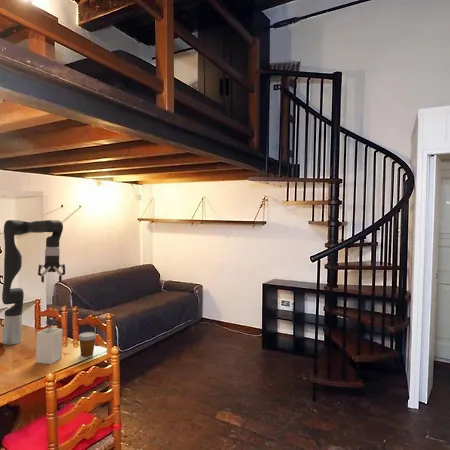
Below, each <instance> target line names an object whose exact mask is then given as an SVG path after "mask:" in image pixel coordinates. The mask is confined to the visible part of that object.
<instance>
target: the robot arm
mask: <svg viewBox="0 0 450 450" xmlns="http://www.w3.org/2000/svg"><path fill="white" fill-rule="evenodd" d="M63 229H64V224H63V222H62V220H60V219H59V220H57V219H55V220H54V219H53V220H52V219H46V220H35V221H33V220H32V222H31V221H26V220H25V221H24V220H20V219H19V220H18V219H8V220H5V222H4V225H3V237H4V238H3V239H4V240H3V241H4V259H3V285H2V292H1V296H2V297H1V300H2V304H3V305H5V306H6V305H11V307H9V308H7V309H5V311H4V319H3V321H4V323H3V325H4V326H3V327H2V336H1V337H2V339H1V344H3V345H6V346H7V345H8V346H10V345H11V346H12V345H18V344H20V343H22V325H23V307H24V297H25V296H24V295H25V294H24V289H23V288H21V287H16V288H15V287H14V288H11V287H12V284H13V282H14V279H15V278H16V276H17V275H18V274H19V272H20V271H21V269H22V262H23V261H22V260H23V257H22V254H21V252H20V250H19V248H18V247H17V245H16V242H15V236H21V235H24V234H28V233H35V234H36V233H37V234H39V233H43V234H44V233H52V234H51V235H49V236H47V237H46V239H45V250H44V252H45V253H44V264H39V265H38V269H37V275H38V276H40V280H41V283H42V284H43V283H45V275H46V274H47V272H48V273H55V272H56V273H57V274H58V283H61V282H62V279H63V276H65V275H66V264H64V263H63V264H60V253H61V252H60V251H61V250H60V239H61V237H62V233H63V231H64V230H63ZM43 268H44V271H43V272H41V271H42V269H43ZM59 268H61V269H62V272H61V271H60V269H59ZM12 304H13V305H12Z"/></svg>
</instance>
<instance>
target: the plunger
mask: <svg viewBox="0 0 450 450" xmlns="http://www.w3.org/2000/svg"><path fill="white" fill-rule="evenodd" d="M45 324H46V325H47V326H48V328H49V333H50V334H51V327H52V326H54V324H55V320H54V318H52V317H48V318H47V319H46V321H45Z"/></svg>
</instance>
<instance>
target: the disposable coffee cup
mask: <svg viewBox="0 0 450 450" xmlns="http://www.w3.org/2000/svg"><path fill="white" fill-rule="evenodd" d="M96 337H97V333H95V332H93V331H85V332H82V333H80V334H79V336H78V340H79V349H80V356H82V357H81V358H90V356H91V357H92V356H93V355H94V349H95V343H96Z"/></svg>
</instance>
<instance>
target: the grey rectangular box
mask: <svg viewBox="0 0 450 450" xmlns="http://www.w3.org/2000/svg"><path fill="white" fill-rule="evenodd" d="M55 328H56V327H55ZM55 328H51V334H50V333H49V327H47V328H44V329H42V330H40V331H37V332H36V344H35V345H36V346H35V348H36V349H35V351H36V352H35V363H37V364H48V365H52V364H54V363H56V362H58V361H59V360H60V359H62V358H63V357H62V353H63V352H62V351H63V328H58V329H55Z"/></svg>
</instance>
